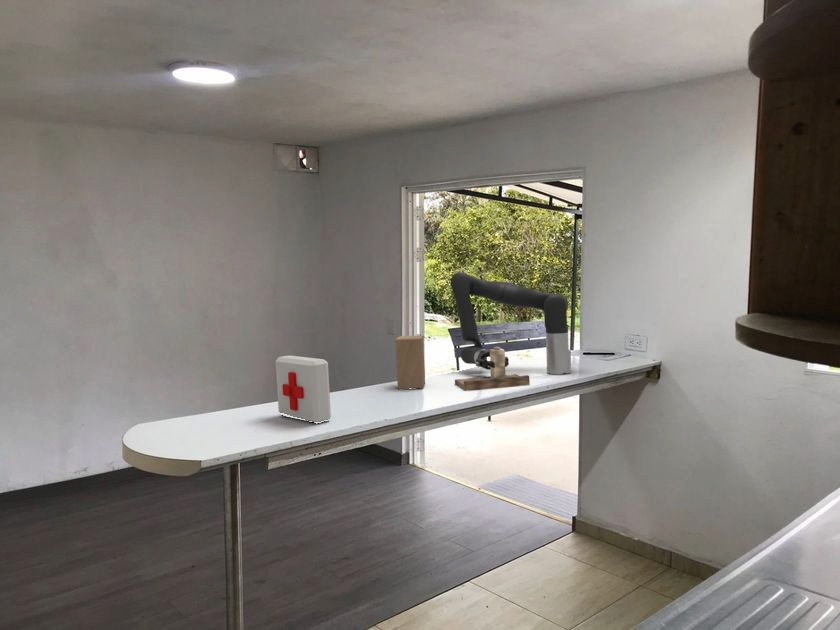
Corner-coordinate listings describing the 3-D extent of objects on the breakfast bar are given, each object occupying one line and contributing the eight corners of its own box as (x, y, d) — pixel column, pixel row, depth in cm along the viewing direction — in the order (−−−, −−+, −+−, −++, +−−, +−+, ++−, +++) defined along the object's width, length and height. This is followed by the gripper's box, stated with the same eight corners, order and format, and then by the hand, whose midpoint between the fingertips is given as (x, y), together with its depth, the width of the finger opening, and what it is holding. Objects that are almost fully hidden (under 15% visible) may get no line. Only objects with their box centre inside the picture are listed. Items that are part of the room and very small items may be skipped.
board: (516, 379, 269) (515, 370, 268) (529, 384, 255) (529, 375, 255) (454, 384, 263) (454, 375, 262) (465, 390, 249) (465, 381, 249)
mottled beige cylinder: (501, 378, 260) (500, 346, 259) (505, 380, 255) (504, 347, 254) (490, 379, 259) (489, 346, 258) (494, 381, 254) (493, 348, 253)
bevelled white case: (274, 417, 219) (270, 357, 217) (294, 412, 225) (291, 354, 223) (312, 426, 204) (308, 362, 203) (333, 421, 210) (329, 359, 208)
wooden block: (425, 384, 266) (423, 335, 265) (423, 389, 256) (420, 338, 255) (400, 385, 267) (398, 336, 266) (397, 389, 257) (395, 339, 256)
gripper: (468, 351, 269) (482, 356, 252) (501, 348, 272) (517, 353, 255) (469, 369, 269) (483, 375, 253) (502, 366, 272) (517, 372, 256)
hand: (500, 364), depth 254 cm, fingers closed on mottled beige cylinder, 4 cm apart
